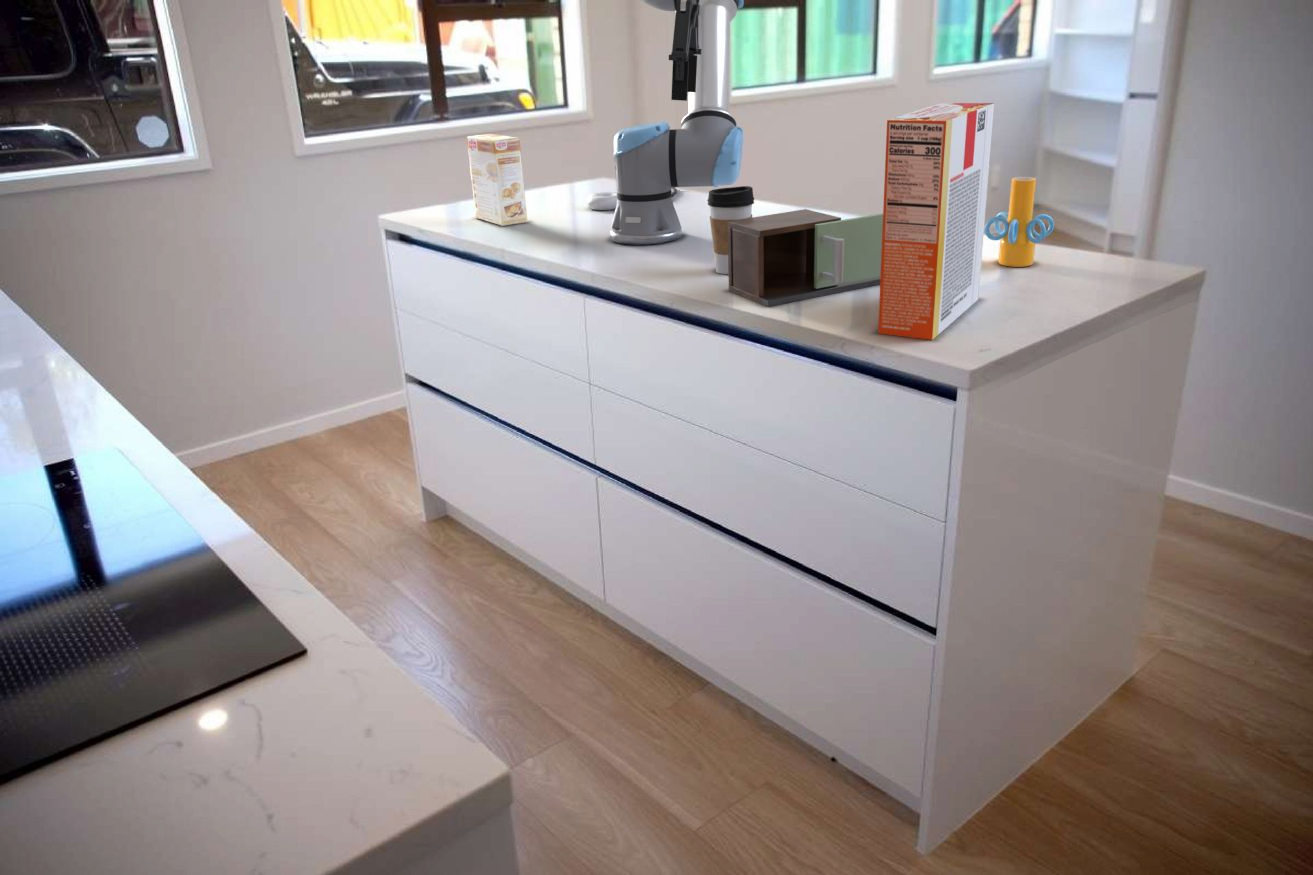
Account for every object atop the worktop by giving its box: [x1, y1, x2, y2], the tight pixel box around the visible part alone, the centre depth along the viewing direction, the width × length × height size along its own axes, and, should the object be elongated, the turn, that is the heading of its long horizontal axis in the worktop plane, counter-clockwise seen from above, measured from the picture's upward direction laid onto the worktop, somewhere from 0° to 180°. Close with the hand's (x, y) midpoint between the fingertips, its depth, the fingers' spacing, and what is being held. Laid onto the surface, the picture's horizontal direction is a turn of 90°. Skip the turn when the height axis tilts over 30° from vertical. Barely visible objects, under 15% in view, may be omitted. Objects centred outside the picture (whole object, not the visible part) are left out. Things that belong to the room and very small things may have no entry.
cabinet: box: [727, 208, 881, 308], centre depth 170 cm, size 12×27×12 cm, turn 118°
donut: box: [586, 191, 617, 211], centre depth 249 cm, size 10×3×10 cm
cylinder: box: [984, 176, 1055, 268], centre depth 177 cm, size 12×10×15 cm
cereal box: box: [877, 102, 995, 341], centre depth 147 cm, size 23×8×30 cm, turn 148°
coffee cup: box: [706, 185, 755, 275], centre depth 182 cm, size 8×8×15 cm
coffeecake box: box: [466, 133, 529, 227], centre depth 237 cm, size 15×7×20 cm, turn 34°
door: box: [814, 213, 883, 289], centre depth 165 cm, size 6×16×11 cm, turn 118°
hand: (683, 96), depth 182 cm, fingers open, 13 cm apart
